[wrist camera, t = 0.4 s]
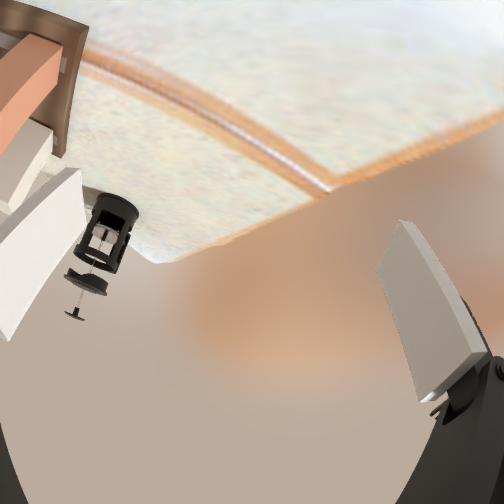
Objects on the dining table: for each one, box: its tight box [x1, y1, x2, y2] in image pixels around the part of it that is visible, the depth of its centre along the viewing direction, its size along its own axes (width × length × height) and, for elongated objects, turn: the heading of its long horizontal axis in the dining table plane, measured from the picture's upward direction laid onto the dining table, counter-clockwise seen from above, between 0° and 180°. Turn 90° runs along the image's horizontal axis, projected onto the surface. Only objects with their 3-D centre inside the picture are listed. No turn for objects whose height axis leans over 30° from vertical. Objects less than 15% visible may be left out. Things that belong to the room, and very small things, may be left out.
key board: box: [0, 0, 89, 158], centre depth 25 cm, size 16×26×4 cm, turn 144°
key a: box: [0, 118, 53, 216], centre depth 31 cm, size 5×6×12 cm
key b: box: [0, 34, 63, 157], centre depth 18 cm, size 5×6×12 cm
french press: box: [64, 193, 139, 321], centre depth 51 cm, size 12×9×23 cm
